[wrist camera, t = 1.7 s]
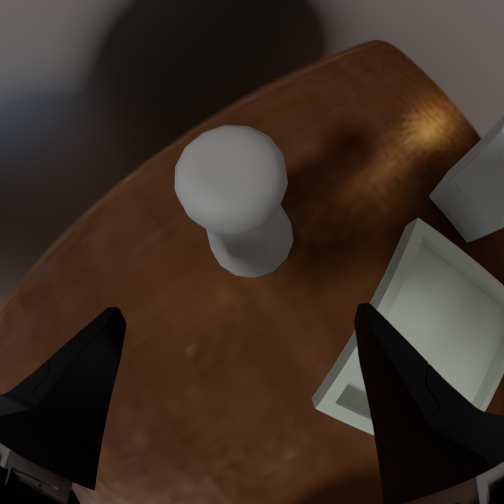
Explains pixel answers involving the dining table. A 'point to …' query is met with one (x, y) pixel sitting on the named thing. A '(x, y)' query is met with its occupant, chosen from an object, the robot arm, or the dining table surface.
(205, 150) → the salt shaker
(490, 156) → the skincare box
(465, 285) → the tray
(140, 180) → the dining table surface
